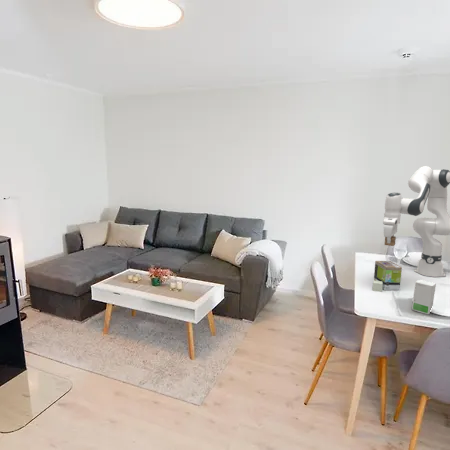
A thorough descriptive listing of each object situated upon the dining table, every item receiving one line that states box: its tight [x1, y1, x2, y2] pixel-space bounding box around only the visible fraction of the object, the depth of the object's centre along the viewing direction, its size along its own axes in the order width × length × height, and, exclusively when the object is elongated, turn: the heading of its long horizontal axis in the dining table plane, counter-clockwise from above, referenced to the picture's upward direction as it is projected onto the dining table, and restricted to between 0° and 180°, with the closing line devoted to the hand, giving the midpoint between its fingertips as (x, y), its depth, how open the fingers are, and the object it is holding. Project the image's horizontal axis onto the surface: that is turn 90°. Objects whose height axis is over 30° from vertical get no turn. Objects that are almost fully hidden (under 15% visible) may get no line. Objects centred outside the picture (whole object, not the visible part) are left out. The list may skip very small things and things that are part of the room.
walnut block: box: [384, 235, 397, 247], centre depth 207 cm, size 5×5×5 cm
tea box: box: [373, 260, 403, 291], centre depth 211 cm, size 15×10×15 cm
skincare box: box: [411, 279, 437, 315], centre depth 175 cm, size 8×7×16 cm
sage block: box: [372, 279, 383, 293], centre depth 206 cm, size 5×5×5 cm
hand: (390, 242), depth 207 cm, fingers closed on walnut block, 5 cm apart
